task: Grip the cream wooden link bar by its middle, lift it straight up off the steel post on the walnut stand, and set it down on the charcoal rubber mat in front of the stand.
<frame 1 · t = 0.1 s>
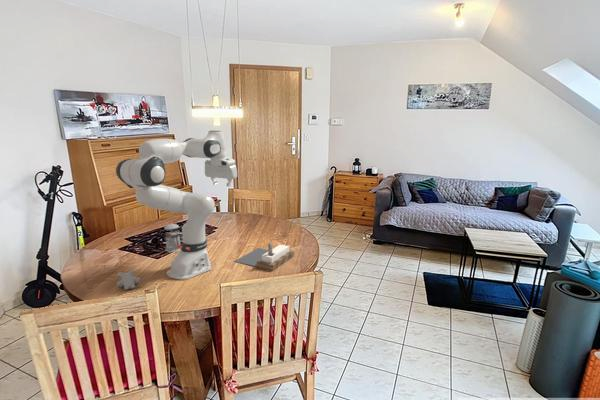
hand: (222, 185, 188), 39 cm above the table, tool pointing down, fingers open, 8 cm apart
mat: (256, 256, 189), on the table
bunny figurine: (128, 284, 159), on the table
french press: (174, 249, 201), on the table
stand: (276, 261, 183), on the table
link: (276, 256, 183), point 3 cm above the table, touching stand
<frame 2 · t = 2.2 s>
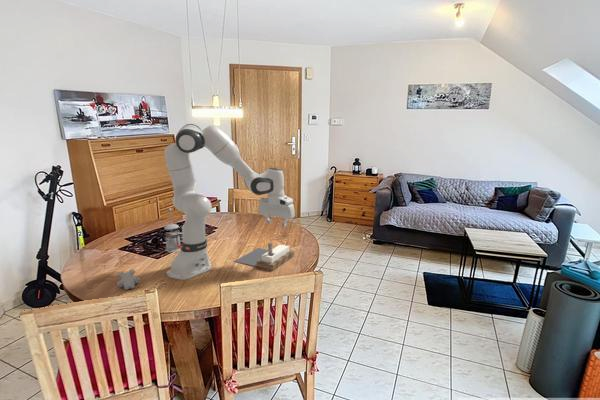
hand: (276, 224, 180), 20 cm above the table, tool pointing down, fingers open, 8 cm apart
nothing on the table moved.
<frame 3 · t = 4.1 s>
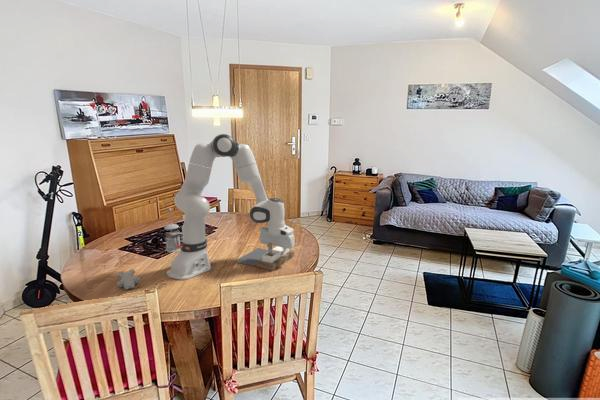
hand: (277, 253, 183), 4 cm above the table, tool pointing down, fingers closed on link, 6 cm apart
link: (276, 256, 183), point 3 cm above the table, touching gripper, stand
everything else where it was.
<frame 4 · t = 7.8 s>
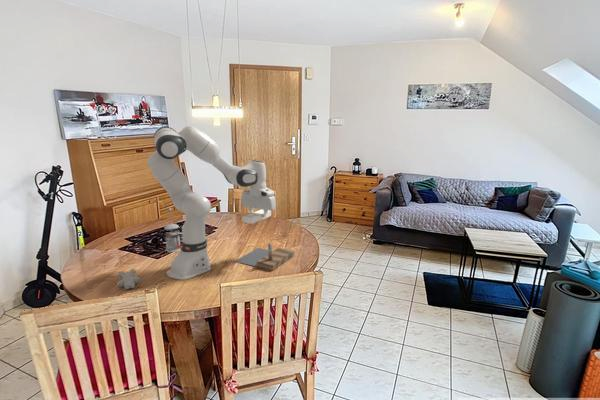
hand: (258, 216, 184), 23 cm above the table, tool pointing down, fingers closed on link, 6 cm apart
link: (257, 218, 183), point 22 cm above the table, touching gripper
everything else where it was.
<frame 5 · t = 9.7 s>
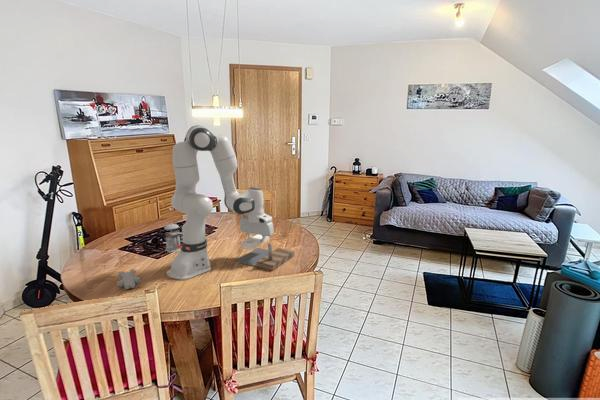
hand: (256, 241, 188), 9 cm above the table, tool pointing down, fingers closed on link, 6 cm apart
link: (255, 243, 188), point 8 cm above the table, touching gripper
everything else where it was.
when the fingers open (3 cm above the table, at t = 11.4 s): link drops 2 cm, resting on mat.
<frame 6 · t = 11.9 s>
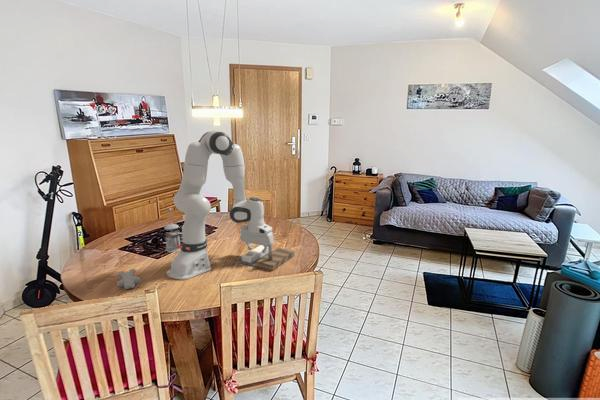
hand: (257, 251, 189), 3 cm above the table, tool pointing down, fingers open, 8 cm apart
link: (256, 256, 189), resting on mat
everything else where it was.
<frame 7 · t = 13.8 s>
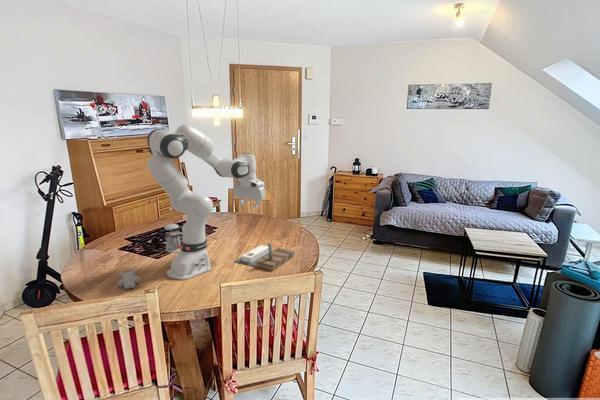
hand: (249, 206, 192), 27 cm above the table, tool pointing down, fingers open, 8 cm apart
nothing on the table moved.
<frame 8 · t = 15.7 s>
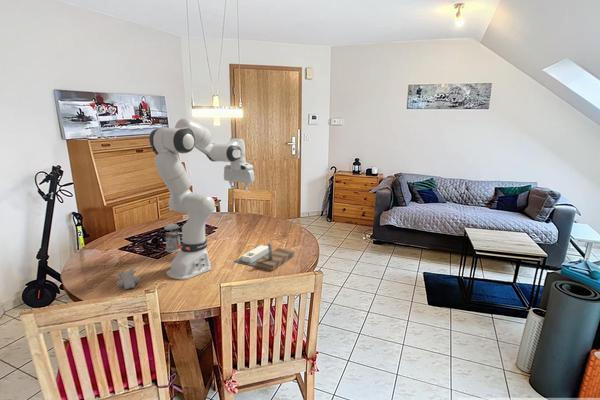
hand: (239, 189, 202), 34 cm above the table, tool pointing down, fingers open, 8 cm apart
nothing on the table moved.
at the end: link inside the target area on the mat (0.0 cm from its centre), point 0.4 cm above the mat's base; link touching mat; the gripper is holding nothing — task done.
